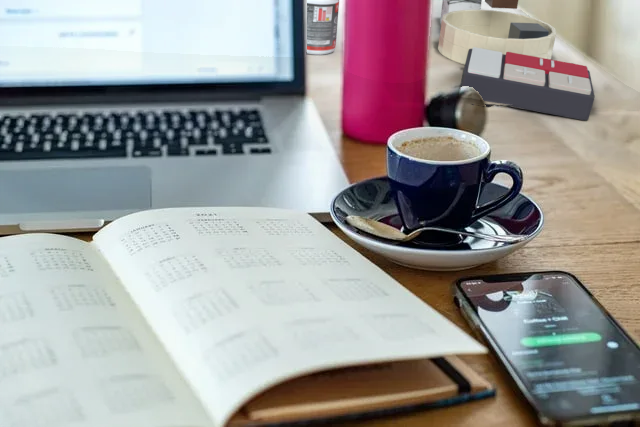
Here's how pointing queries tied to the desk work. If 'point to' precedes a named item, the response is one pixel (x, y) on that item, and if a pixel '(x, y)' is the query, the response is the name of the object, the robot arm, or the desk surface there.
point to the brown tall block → (502, 3)
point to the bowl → (489, 34)
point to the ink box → (459, 6)
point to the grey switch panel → (530, 82)
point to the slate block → (526, 31)
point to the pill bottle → (322, 26)
